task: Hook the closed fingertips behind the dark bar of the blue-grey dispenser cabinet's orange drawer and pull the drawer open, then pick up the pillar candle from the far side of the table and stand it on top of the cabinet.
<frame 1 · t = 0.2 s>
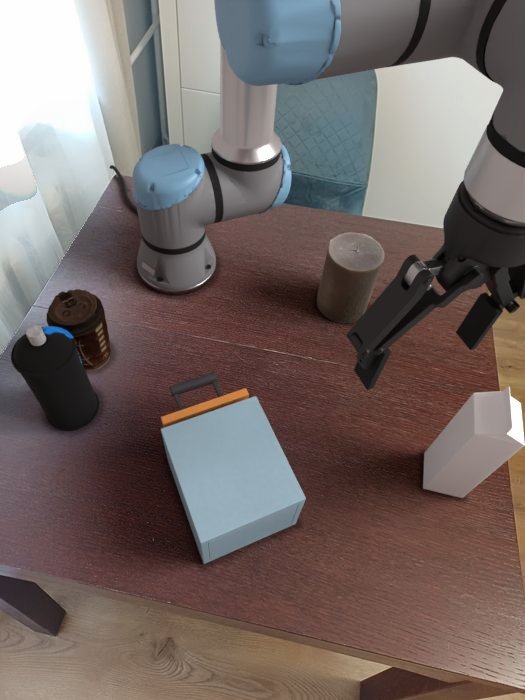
hand: (416, 359, 54), 28 cm above the table, tool pointing down, fingers open, 13 cm apart
milk: (442, 475, 76), on the table
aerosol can: (73, 408, 78), on the table
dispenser: (230, 491, 72), on the table
pillar candle: (340, 304, 95), on the table
orange drawer: (215, 442, 71), point 5 cm above the table, slide at 1.0 cm
coffee cup: (92, 355, 84), on the table
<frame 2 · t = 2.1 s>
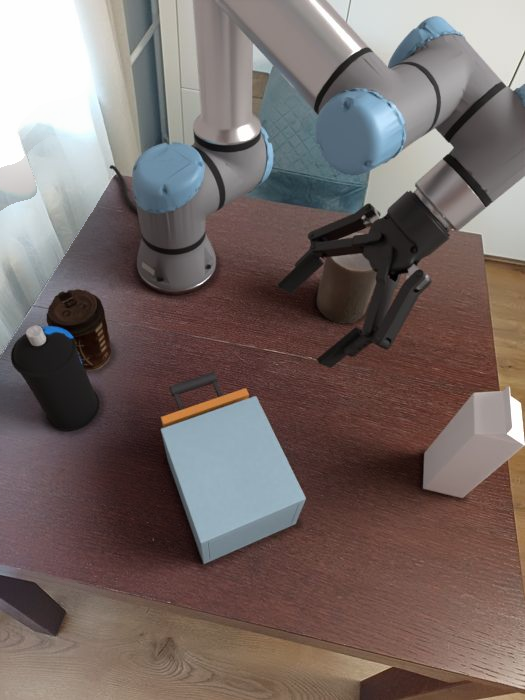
hand: (302, 324, 67), 19 cm above the table, tool tilted 45°, fingers open, 13 cm apart
nothing on the table moved.
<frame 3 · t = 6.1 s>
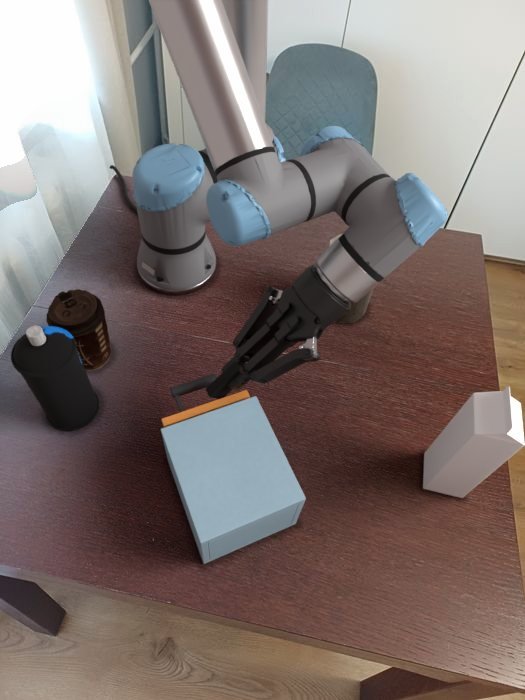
hand: (213, 394, 72), 9 cm above the table, tool tilted 45°, fingers closed
orange drawer: (216, 444, 71), point 5 cm above the table, slide at 0.7 cm, touching gripper
everything else where it was.
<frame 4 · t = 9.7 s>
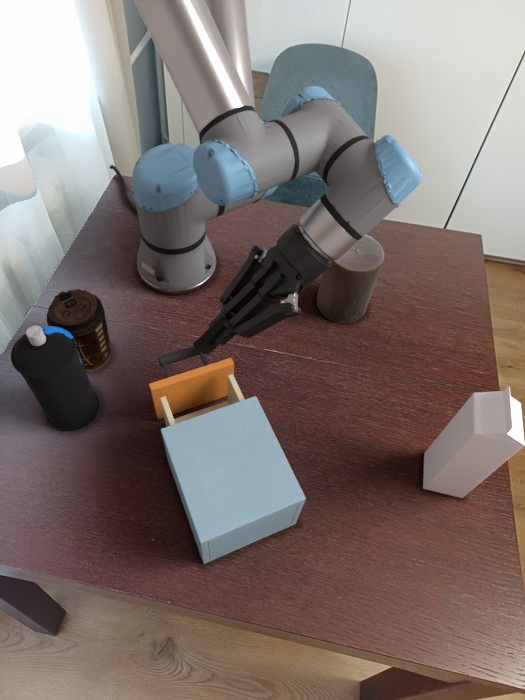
hand: (200, 349, 75), 9 cm above the table, tool tilted 45°, fingers closed
orange drawer: (202, 409, 74), point 5 cm above the table, slide at 6.7 cm
everything else where it was.
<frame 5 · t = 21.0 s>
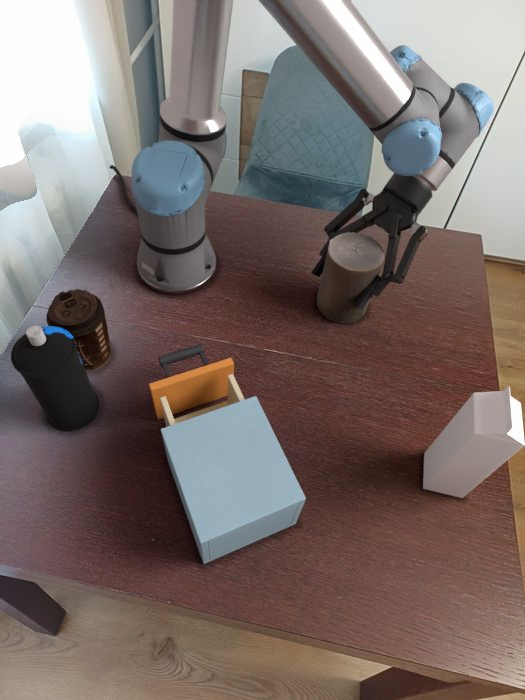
hand: (336, 290, 88), 6 cm above the table, tool tilted 45°, fingers closed on pillar candle, 9 cm apart
pillar candle: (340, 304, 95), on the table, touching gripper
everything else where it was.
when the fingers open (17 cm above the table, at t = 34.4 s): pillar candle stays where it is, resting on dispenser.
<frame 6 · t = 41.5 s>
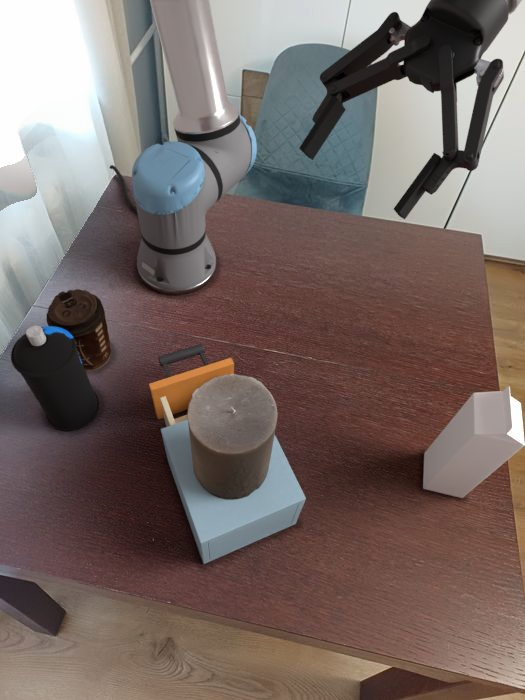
hand: (350, 183, 55), 38 cm above the table, tool tilted 45°, fingers open, 13 cm apart
pillar candle: (231, 462, 64), point 11 cm above the table, touching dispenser
everything else where it was.
at the end: orange drawer slide at 6.7 cm; pillar candle inside the target area on the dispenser (0.1 cm from its centre), point 10.6 cm above the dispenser's base; pillar candle tilted 0° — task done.
